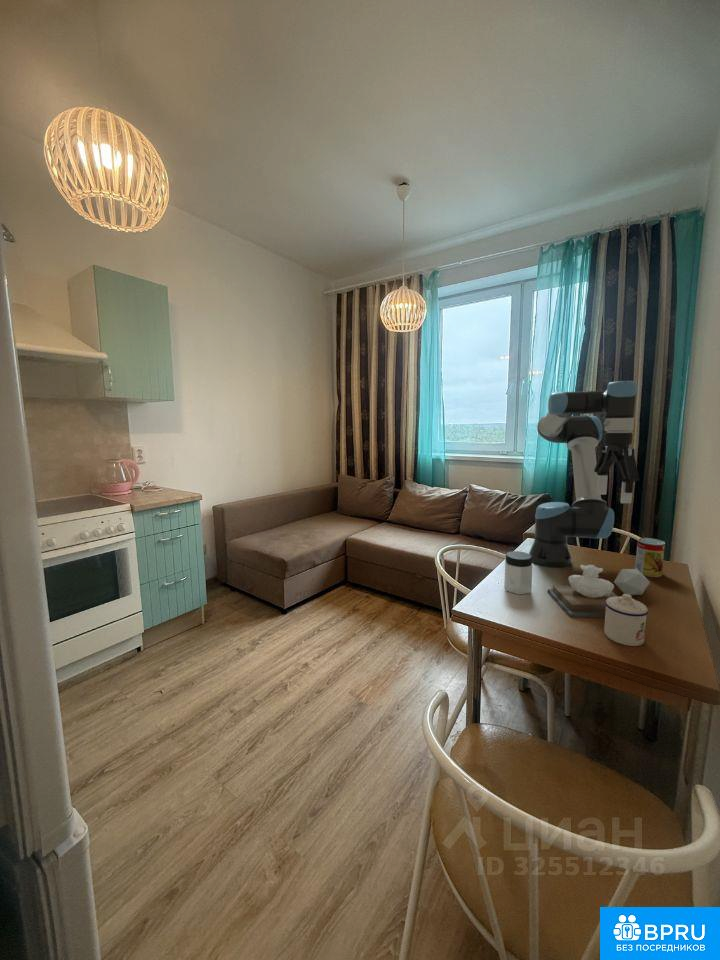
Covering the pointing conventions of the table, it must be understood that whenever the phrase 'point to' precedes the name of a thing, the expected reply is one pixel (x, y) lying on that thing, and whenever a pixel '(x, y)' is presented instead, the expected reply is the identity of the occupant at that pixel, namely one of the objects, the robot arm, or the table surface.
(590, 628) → the table surface
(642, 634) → the teacup with lid
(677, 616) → the table surface
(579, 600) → the pedestal
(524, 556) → the jar
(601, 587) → the bust
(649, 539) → the canned food
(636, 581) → the die
